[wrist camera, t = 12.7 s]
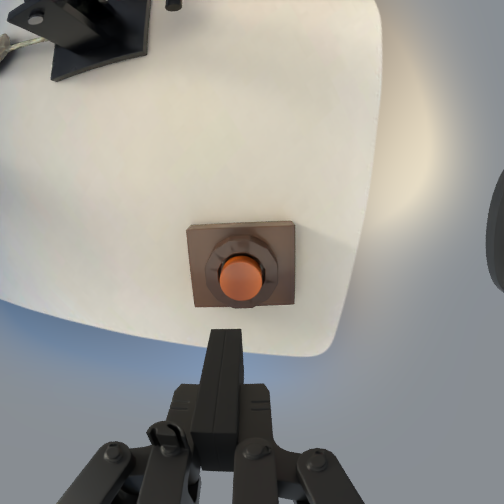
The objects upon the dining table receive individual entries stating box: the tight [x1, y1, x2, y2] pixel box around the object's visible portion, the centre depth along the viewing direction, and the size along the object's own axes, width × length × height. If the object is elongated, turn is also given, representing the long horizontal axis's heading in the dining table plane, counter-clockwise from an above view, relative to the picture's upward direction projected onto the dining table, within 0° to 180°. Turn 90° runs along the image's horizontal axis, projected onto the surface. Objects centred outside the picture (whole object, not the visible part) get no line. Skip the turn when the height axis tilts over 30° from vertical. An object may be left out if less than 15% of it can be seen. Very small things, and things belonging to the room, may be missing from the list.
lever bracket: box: [7, 0, 151, 82], centre depth 16 cm, size 12×9×14 cm
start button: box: [220, 256, 262, 301], centre depth 25 cm, size 4×4×2 cm
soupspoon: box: [0, 34, 49, 62], centre depth 20 cm, size 22×3×7 cm
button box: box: [186, 221, 295, 308], centre depth 28 cm, size 10×8×4 cm
